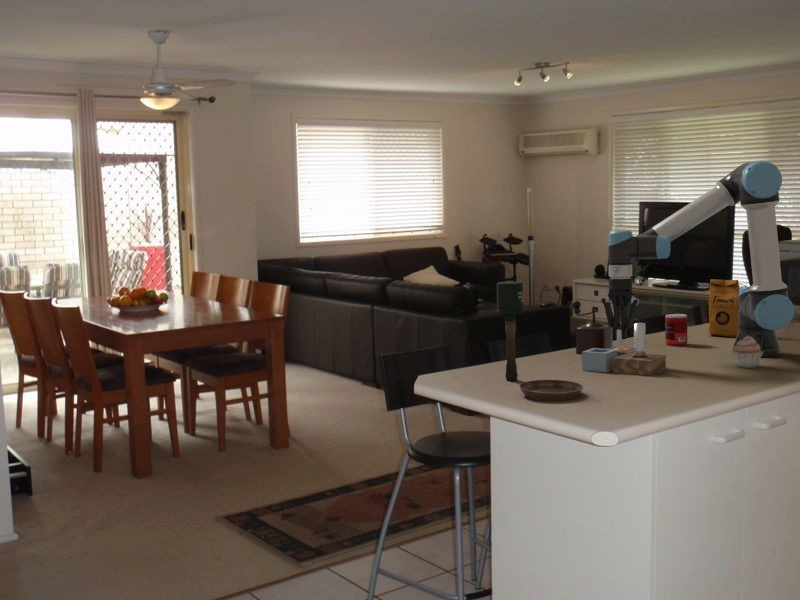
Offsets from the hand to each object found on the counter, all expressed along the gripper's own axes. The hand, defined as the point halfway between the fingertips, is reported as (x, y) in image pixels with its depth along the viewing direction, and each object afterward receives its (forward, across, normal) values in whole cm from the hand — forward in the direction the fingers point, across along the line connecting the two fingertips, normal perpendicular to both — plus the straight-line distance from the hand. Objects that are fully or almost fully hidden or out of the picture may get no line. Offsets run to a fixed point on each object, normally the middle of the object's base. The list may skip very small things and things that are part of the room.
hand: (620, 348), depth 296 cm
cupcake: (+5, +37, +13) cm, 39 cm away
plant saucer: (+5, +5, -55) cm, 56 cm away
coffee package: (+5, +9, +74) cm, 74 cm away
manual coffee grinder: (+5, -20, +16) cm, 26 cm away
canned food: (+5, +1, +45) cm, 45 cm away
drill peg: (+5, +11, -10) cm, 16 cm away
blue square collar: (+5, -1, -13) cm, 14 cm away
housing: (+5, 0, 0) cm, 5 cm away
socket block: (+5, +11, -10) cm, 16 cm away
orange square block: (+4, 0, 0) cm, 4 cm away
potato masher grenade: (+5, -16, -42) cm, 46 cm away
